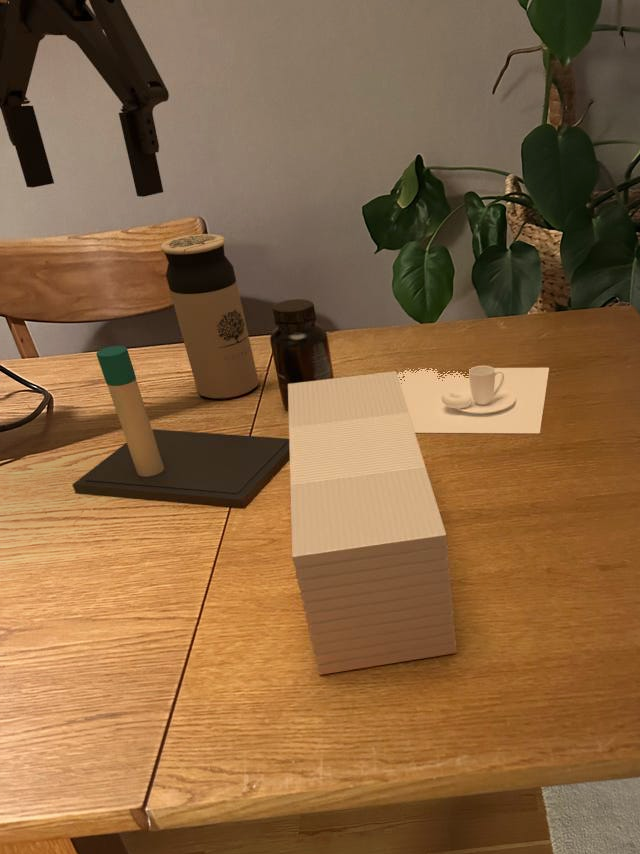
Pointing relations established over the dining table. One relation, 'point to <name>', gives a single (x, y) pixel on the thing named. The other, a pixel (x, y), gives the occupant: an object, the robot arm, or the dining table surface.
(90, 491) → the black cutting board
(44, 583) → the dining table surface
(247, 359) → the travel mug
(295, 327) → the supplement bottle
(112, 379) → the marker
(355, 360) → the dining table surface
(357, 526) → the stack of papers
